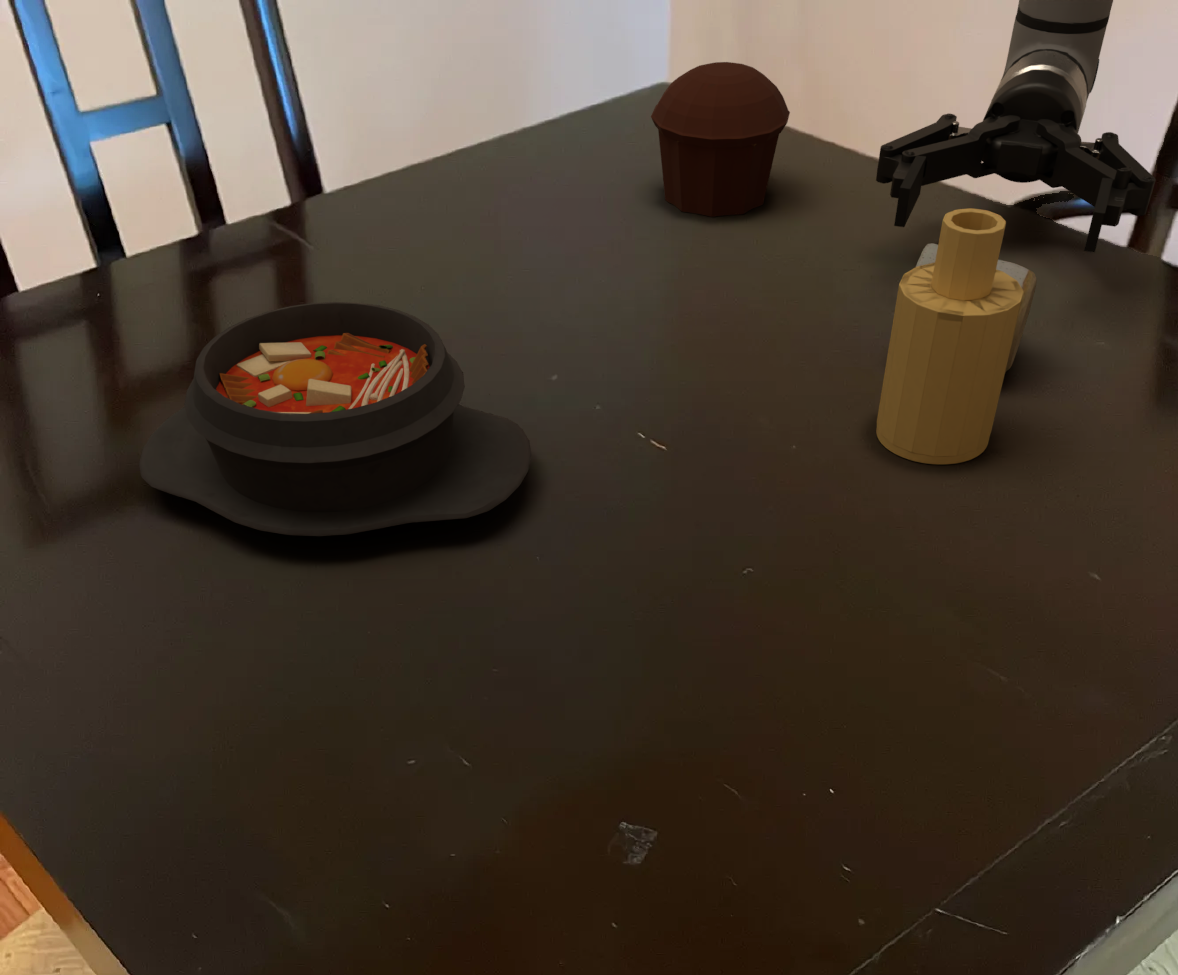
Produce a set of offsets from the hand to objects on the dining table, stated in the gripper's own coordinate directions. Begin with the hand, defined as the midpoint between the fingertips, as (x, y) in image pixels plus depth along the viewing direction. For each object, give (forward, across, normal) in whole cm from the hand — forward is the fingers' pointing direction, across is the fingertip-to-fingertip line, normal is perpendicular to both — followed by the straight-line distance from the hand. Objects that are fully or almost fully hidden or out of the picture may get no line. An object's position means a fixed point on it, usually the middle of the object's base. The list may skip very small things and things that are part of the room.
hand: (996, 220), depth 96 cm
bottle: (+18, 0, -7) cm, 20 cm away
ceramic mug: (+6, 0, -7) cm, 10 cm away
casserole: (+36, +35, -7) cm, 51 cm away
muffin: (-16, +25, -7) cm, 31 cm away
